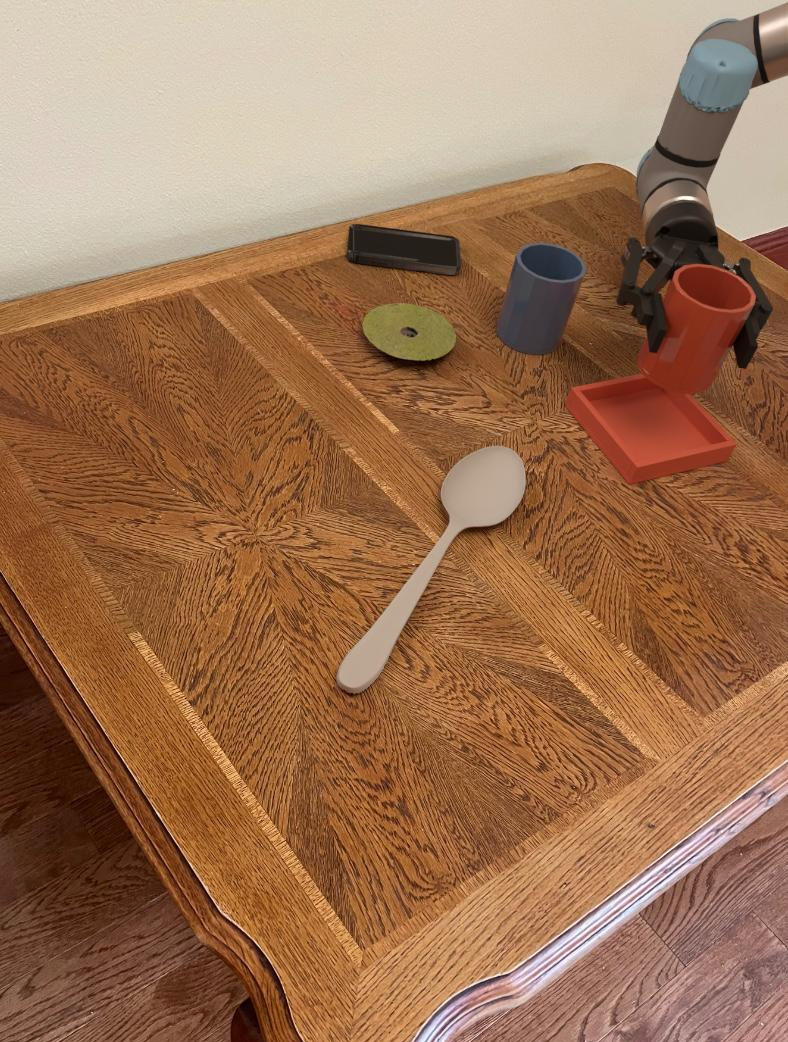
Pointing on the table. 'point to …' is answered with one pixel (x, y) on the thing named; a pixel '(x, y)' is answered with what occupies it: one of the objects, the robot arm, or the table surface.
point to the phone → (403, 249)
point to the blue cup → (540, 297)
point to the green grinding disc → (409, 331)
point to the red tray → (648, 428)
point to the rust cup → (697, 328)
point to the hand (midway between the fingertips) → (703, 349)
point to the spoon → (440, 551)
